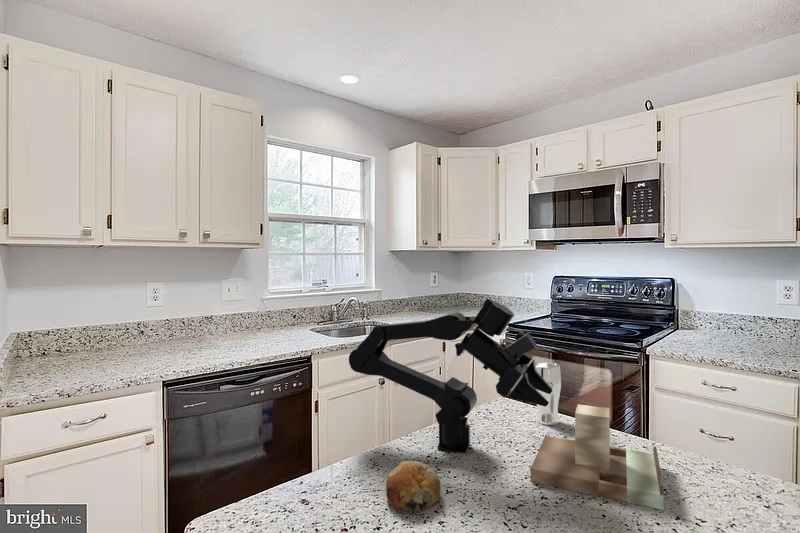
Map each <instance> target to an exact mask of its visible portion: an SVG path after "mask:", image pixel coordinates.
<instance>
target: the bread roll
mask: <svg viewBox="0 0 800 533" xmlns="http://www.w3.org/2000/svg"><path fill="white" fill-rule="evenodd" d="M385 484H386V485H385V489H386V490H385V492H386V499H387V502H388V503H389V504H390V506H392V507H393V508H395V509H397V510H398V511H399V510H400V511H406V512H415V513H416V512H420V511H424V510H426V509H429V508H431V507H432V506H433V505H435V504H436V503H437V502H438V500H439V499H440V498H441V480H440V478H439V476H438V474H437V472H436V471H435V470H434V469H433V468H432V467H430V466H429V465H427V464H425V463H423V462H421V461H417V460H405V461H401V462H399V464H398V465H397V466H396V467H395V468H393V470H391V471H390V472H389V473H388V475H387V478H386V483H385Z"/></svg>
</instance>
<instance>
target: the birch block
mask: <svg viewBox="0 0 800 533" xmlns="http://www.w3.org/2000/svg"><path fill="white" fill-rule="evenodd" d="M610 414H611V413H610V408H608V407H602V406H601V407H600V406H595V405H593V406H592V405H586V404H577V405H576V409H575V413H574V429H575V430H574V441H575V464H580V465H585V466H590V467H595V468H601V469H606V470H609V462H610V447H611V437H610V435H611V434H610V432H611V431H610V430H611V429H610V428H611V427H610V425H611V423H610V421H611V420H610V418H611V416H610Z"/></svg>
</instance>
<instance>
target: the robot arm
mask: <svg viewBox="0 0 800 533" xmlns="http://www.w3.org/2000/svg"><path fill="white" fill-rule="evenodd" d="M476 314H477V315H476V316H475V315H472V316H466V315H464V314H463V313H461V312H452V313H449V314H445V315H441V316H439V317H435V318H433V319H432V318H431V319H429V320H428V319H426V320H418V321H417V320H415V321H409V322H398V323H382V324H379V325H375V326H374V327H373V328H372V330H371V331H370V333H369V334H368V336H367V337H366V338H364V340H362V342H361V343H360V344H359V345H358V346H357V348H356V349H355V348H354V350H352V351H350V353H349V356H348V364H349V366H350V369H351V370H352V371H353V372H356V373H358V374H362V375H367V376H376V377H377V376H379V377H381V378H382V377H383V378H385V379H386V380H389V381H392V382H394V383H395V384H397V385H400V386H402V387H403V388H406V389H408V390H412V392H415V393H418V394H420V395H422V396H424V397H426V398H429V399H430V400H433V402H434V403H435V405H437V406H438V408H439V409H440V410H438V411H437V412H436V413H435V418H436V421H437V424H438V444H437V450H440V451H441V450H442V451H449V452H460V453H466V452H467V449H468V448H469V447H470V445H471V425H470V424H468V423H469V422H468V421H469V420H468V417H466V416H468V415H469V414H470V412H471V411H473V409H474V408H475V406H476V405H477V403H478V402H477V401H478V398H477V393H476V392H475V389H474V388H472V387H471V386H469V382H464V381H461V380H459V379H458V378H455V377H451V378H449V379H448V380H447V381H441V380H439V379H437V378H434V377H432V376H429V375H426V374H424V373H422V372H420V371H417V370H415V369H413V368H411V367H408V366H406V365H403V364H402V363H399V362H397V361H396V360H393V359H391V358H389V357H388V355H387V354H386V353H385V352H384V350H385V348H386V347H387V344H388V342H389V341H392V340H393V341H395V340H404V339H405V340H406V339H417V338H420V339H421V338H432V339H435V340H436V339H437V340H443V341H455V340H457V339H459V338H461V337H463V336H464V337H463V339H462V340H461V341H460V342H457V343H455V344H454V347H455V352H456V354H455V355H456V356H457V357H460V356H461V355H463V354H465V352H466V353H468V354H469V355H470V356H472V357H473V358H475V359H476V361H479V362H480V363H481V364H482V365H483V366H482V368H483V369H484V370H486V371H487V370H488V369H489V370H490V371H491V372H493V373H494V374H495V375H497V376H498V377H499V378H498V382H497V383H496V385H495V390H496V393H498V395H500V396H501V397H502V398H504V399H505V398H506V397H507V398H508V399H514V400H519V401H523V402H527V403H530V404H535V405H536V406H537V405H541V406H545V407H546V406H547V405H548V403H549V402H548V401H547V400H546V399H545V398H544V397H543V396H542V395H541V394H540V393H539V392H538V391H537V390H540V391H542V392H545V393H548V394H551V392H552V391H553V390H552V389H551V387H550V386H549V385H548V384H547V383H546V382H545V380H544V379H543V378H542V377H541V376H540V375H539V373H538V372H537V371H536V368H535V363H536V361H535V359H533V358H534V356H533V355H532V354H530V353H529V352H531V351H532V350H534V349H536V346H537V345H538V344H537V343H536V341H535V340H534V337H533V335H531V334H530V333H529V332H527V333H524V332H523V331H520V332H519V333H517V334H516V335H515V336H514V339H515V341H512V343H511V344H509V345H507V344H505V343H504V342H502V343H498V342H497V341H496V340H494V339H493V337H494V336H498V337H499V336H501V335H502V333H503V332H504V331H505V329H506V328H507V327H508V325H509V324H510V322H511V320H512V319H513V318H514V316H515V314H514V313H513V311H512V310H511V309H509V308H508V307H507V306H506V305H504V304H501V303H498V302H497V301H494V300H493V299H491V298H490V297H489V298H487V299H485V301H484V303H483V305H482V307H481V308H480V310H479V311H478V312H477V313H476ZM474 327H475V328H474ZM472 328H474V330H473V331H472V332H471V333H470V332H468V330H471V329H472ZM467 332H468V333H467ZM491 337H492V338H491ZM532 359H533V360H532ZM536 389H537V390H536Z"/></svg>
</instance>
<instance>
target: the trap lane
mask: <svg viewBox="0 0 800 533" xmlns="http://www.w3.org/2000/svg"><path fill="white" fill-rule="evenodd" d="M652 451H653V452H652V453H651V452H645V451H640V450H633V449H628V448H623V447H622V448H621V447H617V446H616V447H615V446H610V462H609V470H606V469H601V468H595V467H590V466H585V465H580V464H575V439H567V438H562V437H557V436H550V435H545V436H544V438H543V440H542V443H541V444H540V447H539V449H538V451H537V453H536V454H535V458H534V461H533V462H532V464H531V467H530V482H531V483H536V484H539V485H544V486H545V485H546V486H549V487H554V488H559V489H564V490H569V491H573V492H577V493H578V492H579V493H582V494H586V495H591V496H596V497H599V498H600V497H601V498H605V499H610V500H615V501H619V502H624V503H628V504H633V505H638V506H643V507H647V508H651V509H657V510H661V511H664V510H665V509H664V497H665V496H664V493H665V492H664V482H663V477H662V472H661V467H660V466H661V465H660V461H659V454H658V449H657V446H653V450H652Z"/></svg>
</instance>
